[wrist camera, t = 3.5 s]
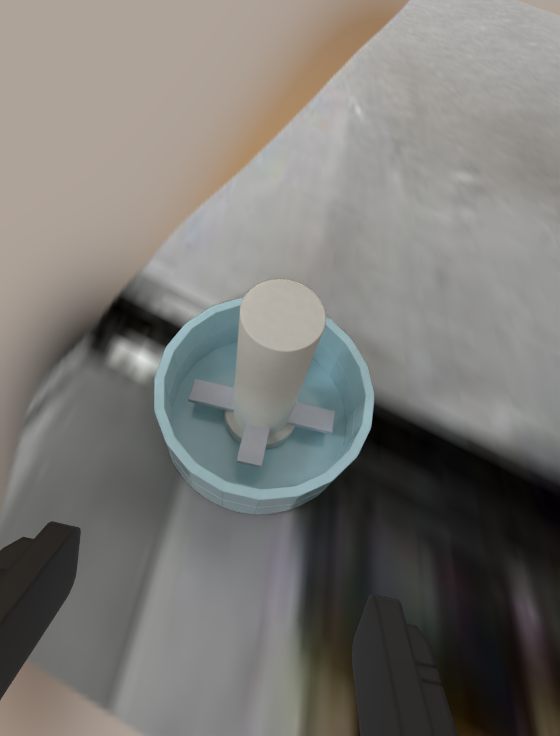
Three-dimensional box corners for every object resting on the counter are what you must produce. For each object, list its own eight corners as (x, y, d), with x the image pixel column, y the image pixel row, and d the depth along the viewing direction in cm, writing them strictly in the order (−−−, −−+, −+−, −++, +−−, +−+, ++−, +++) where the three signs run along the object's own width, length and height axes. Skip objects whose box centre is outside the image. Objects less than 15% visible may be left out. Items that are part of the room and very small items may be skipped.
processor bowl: (360, 359, 36) (382, 322, 31) (338, 534, 29) (361, 523, 24) (195, 321, 35) (191, 277, 30) (137, 489, 29) (120, 468, 24)
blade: (336, 376, 34) (395, 265, 22) (319, 490, 30) (381, 425, 18) (209, 347, 34) (203, 220, 22) (174, 458, 30) (144, 371, 18)
